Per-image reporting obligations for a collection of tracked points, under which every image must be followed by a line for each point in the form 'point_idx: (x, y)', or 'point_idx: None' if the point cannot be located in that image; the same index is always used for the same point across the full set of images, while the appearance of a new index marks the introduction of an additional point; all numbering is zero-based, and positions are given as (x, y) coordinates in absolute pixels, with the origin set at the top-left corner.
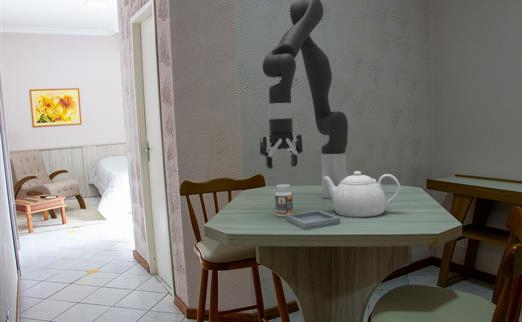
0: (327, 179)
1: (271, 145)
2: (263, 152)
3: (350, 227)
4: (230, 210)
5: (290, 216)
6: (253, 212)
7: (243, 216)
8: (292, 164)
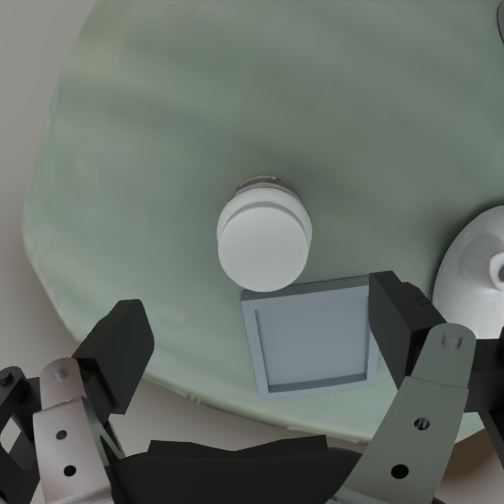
0: (500, 290)
1: (62, 470)
2: (31, 441)
3: (370, 402)
4: (88, 52)
5: (250, 324)
6: (158, 111)
7: (111, 165)
8: (373, 304)
